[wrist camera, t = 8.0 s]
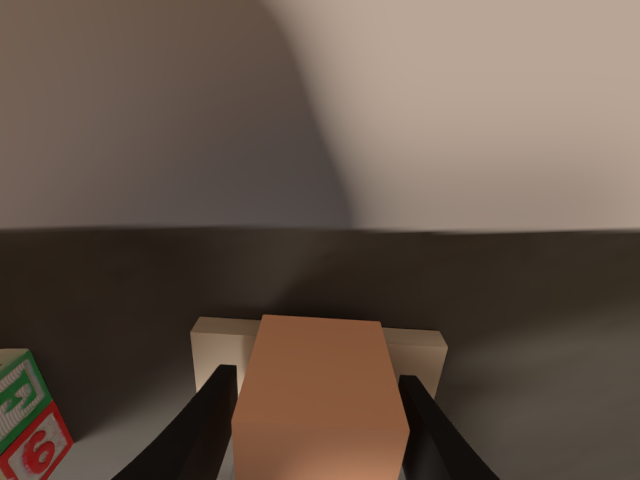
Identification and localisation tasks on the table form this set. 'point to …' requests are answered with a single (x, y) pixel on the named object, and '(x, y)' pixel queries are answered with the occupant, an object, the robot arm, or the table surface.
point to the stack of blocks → (28, 420)
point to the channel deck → (238, 341)
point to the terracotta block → (319, 403)
